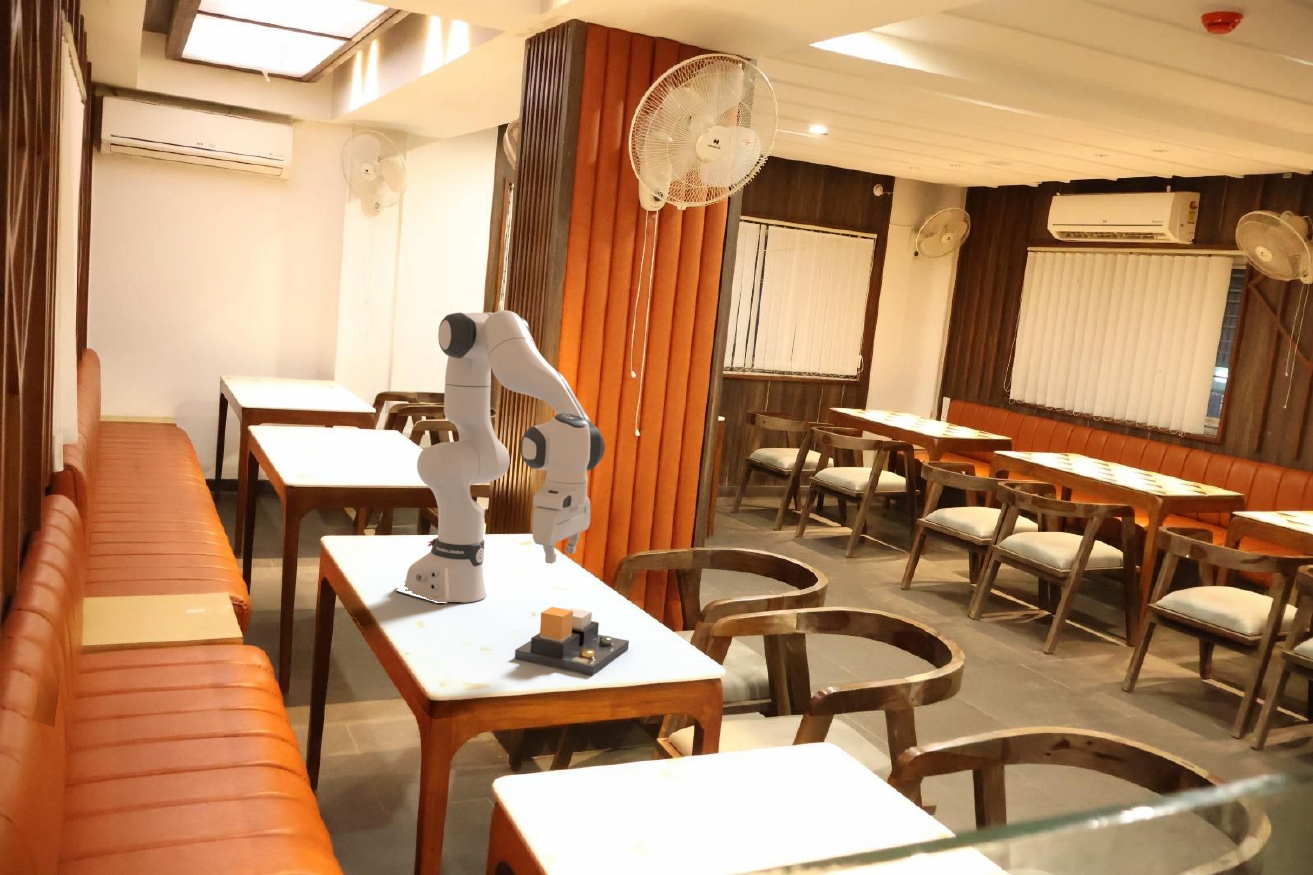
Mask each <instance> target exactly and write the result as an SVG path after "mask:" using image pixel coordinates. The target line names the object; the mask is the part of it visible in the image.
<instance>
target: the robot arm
mask: <svg viewBox="0 0 1313 875" xmlns="http://www.w3.org/2000/svg"><path fill="white" fill-rule="evenodd" d="M438 326H439V328H438V334H437V335H438V344H439V347H440V349H441V350H442V352H443V353H444V354H445V356H448V357H447V362H446V368H445V378H444V398H443V402H444V403H443V415H444V416H445V417H444V418H446V419H447V421H449V422H450V423H451V424H453V425H454V426H455V427H456V430H457V433H458V440H457V441H446V442H438V443H436V444H434V445H430V446H428V447H424V448H423V450H421V451H420V453H419V455H418V457H417V462H416V467H417V468H416V470H417V474H418V476H419V477H420V479H421V481H422V482H423V483H424V484H425V485H426V486H427V487H428V488H429V489H430V491H431V492H432V493H433V496H434V497H435V500H436V504H437V505H436V506H437V512H438V514H437V516H438V521H437V524H438V526H437V528H438V529H437V537H436V538H434V539H432V540H430V541H427V543H428V544H427V547H431V550H430V552H428V553H427V554H426V555H424V556H422V557H421V558H419V559H417V560H416V561H414V563H412V564H411V565H410V566H409V568H408V570H407V572H406V577H405V580H404V581H403V582H405V585H404V586H405V587H407V588H408V590H407V589H406V590H405V591H412V593H413V594H416V595H420V596H422V597H425V598H427V599H429V600H434V601H437V602H461V603H460V604H462V602H463V604H465V603H474V602H477V601H480V600H483V599H485V598H486V597H487V592H486V591H487V590H486V587H485V581H484V572H483V571H484V570H483V562H484V556H485V540H484V526H485V524H484V523H485V510H484V508H483V507H482V506H481V505H480V503H478V502H477V501H475V500H474V499H473V498H472V494H471V486H472V485H477V484H478V485H479V484H487V483H490V482H494V481H495V480H498V479H500V478H502V477H504V476H505V475H506V473H507V472H508V470H509V469H510V468H509V467H510V461H511V460H510V459H511V458H510V453H509V451H508V449H507V447H506V446H505V445H504V444H503V442H501V441H500V440H499V438H498V437H497V434H496V432H495V431H494V426H493V424H492V418H491V392H492V391H491V389H492V388H491V387H492V378H491V377H492V373H493V376H494V377H495V379H496V380H497V382H498V383H499V384H500V385H502V387H504V388H506V389H507V390H509V391H511V392H514V393H518V394H522V395H526V396H529V397H532V398H535V399H538V400H540V401H543V402H544V403H546V404H548V405H549V406H550V407H551V408H552V409H553V410H554V413H555V415H553V417H552V418H551V420H550V421H548V422H545V423H541V424H538V425H533V426H530V427H529V428H528V429H527V430H526V431H525V432H524V434H523V436H522V437H521V439H520V440H521V441H520V456H521V458H522V460H523V462H524V463H525V464H526V466H528V467H529V468H530V469H533V470H538V471H539V470H540V471H546V474H545V477H544V479H545V480H544V484H543V485H542V487H541V488H539V490H538V491H537V493H535V494H534V496H533V498H532V500H533V501H532V505H534V506H535V508H534V511H533V517H532V539H533V542H534V543H535V545H541V546H542V547H543V551H544V554H545V555H544V556H545V557H544V561H545V563H546V564H550V565H551V564H555V563H556V562H557V554H556V553H555V548H556V544H557V543H559V542H562V541H564V540H566V539H568V540H567V544H566V545H565V553H566V554H569V555H572V554H576V553H577V545H578V542H579V539H580V537H581V533H582V532H584V531H586V530H588V529H589V527H590V524H591V500H590V498H589V497H588V484H589V483H588V482H589V478H588V476H589V475H588V473H587V472H589V471H591V470H594V469H595V467H598V466H597V465H599V464H600V462H601V461H602V459H603V457H604V455H605V452H606V442H605V439H604V436H603V435H602V433H601V432H600V430H599V429H598V427H597V426H596V425H595V424H594V423H593V422H592V421H591V420H590V418H589V417H588V415H587V413H586V412H585V409H584V408H583V407H582V405H581V403H580V401H579V400H578V399H577V397H576V395H575V393H574V391H573V390H572V388H571V386H570V385H569V384H568V382H567V381H566V379H565V377H564V376H563V375H562V373H560V371H558V370H557V369H555V368H554V367H553V366H552V365H550V364H549V362H548V361H547V360H546V359H545V358H544V357H543V355H542V354H541V353H540V351H539V350H538V348H537V345H536V343H535V341H534V338H533V336H532V333H531V329H530V325H529V324H528V322H527V321H526V319H525V318H523V317H522V316H520V315H518V313H516V312H514V311H510V310H507V309H506V310H505V309H504V310H502V309H501V310H498V311H495V312H486V311H485V312H467V313H466V312H465V313H463V312H454V313H450V314H446V315H445V317H443V319H442V320H441V322H440V324H439V325H438Z"/></svg>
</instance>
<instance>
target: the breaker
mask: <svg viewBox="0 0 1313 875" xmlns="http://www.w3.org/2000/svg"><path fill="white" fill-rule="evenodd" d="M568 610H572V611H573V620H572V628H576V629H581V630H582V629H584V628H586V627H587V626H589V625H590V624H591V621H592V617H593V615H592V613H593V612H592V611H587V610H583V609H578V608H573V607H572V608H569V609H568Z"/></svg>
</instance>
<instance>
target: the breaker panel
mask: <svg viewBox="0 0 1313 875" xmlns="http://www.w3.org/2000/svg"><path fill="white" fill-rule="evenodd" d="M599 625H600V624H599V622H597V621H592V620H591V624H590V625H589V626H587V627H586V628H584V629H582V630H581V629H576V628H572V635H571V637H570V638H568V639H567V640H565V641H563V642H557V641H552V640H547V639H542V638H540V632H538V633H537V634H535V635H533V637H531V638H530V640H529V641H528V642H525V643H524V644H523V645H521V646H519V647H517V648H516V649H515V651H514V659H515V660H518V661H523V662H528V663H533V664H538V665H542V666H544V667H545V666H546V667H551V668H554V669H559V670H565V671H569V672H573V673H577V674H583V675H587V676H595V675H596V674H597V673H598V672H600V671H601V670H602V669H604V668H605V667H606V666H608V665H609V664H610V663H612V662H613V661H615V660H617V658H619V657H620V656H622V655H623V654H624V653H626V652H627V651H628V650H629V646H630V645H629V642H630V641H629V640H627V639H621V638H617V637H612V636H609V635H602V634H599V627H600V626H599Z"/></svg>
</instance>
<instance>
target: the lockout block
mask: <svg viewBox="0 0 1313 875" xmlns="http://www.w3.org/2000/svg"><path fill="white" fill-rule="evenodd" d="M572 620H573V611H572V610H569V609H566V608H561V607H557V606H551V607H549V608H546V609H545V610H543V611H541V614H540V626H539V627H540V628H539V633H540V636H545V637H549V638H554V639H559V640H562V639H564V638H565V637H567V636H568V635H570V634H572Z"/></svg>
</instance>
